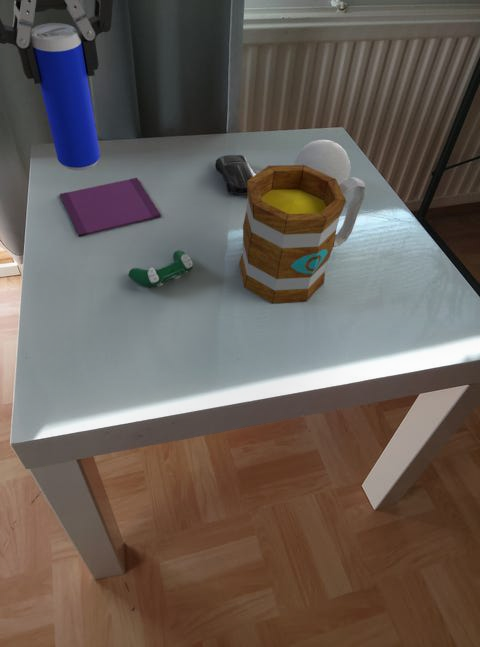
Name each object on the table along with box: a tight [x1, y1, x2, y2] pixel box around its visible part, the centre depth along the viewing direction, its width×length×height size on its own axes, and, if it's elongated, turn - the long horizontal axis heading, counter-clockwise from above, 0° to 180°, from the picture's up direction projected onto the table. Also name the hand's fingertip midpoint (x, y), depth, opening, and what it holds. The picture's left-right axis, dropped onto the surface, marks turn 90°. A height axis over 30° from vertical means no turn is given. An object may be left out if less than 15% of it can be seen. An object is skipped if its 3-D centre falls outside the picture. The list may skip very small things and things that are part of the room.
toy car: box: [214, 154, 257, 195], centre depth 93 cm, size 6×12×4 cm, turn 19°
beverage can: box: [30, 22, 101, 171], centre depth 58 cm, size 5×5×15 cm
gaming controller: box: [127, 249, 194, 289], centre depth 75 cm, size 9×4×6 cm
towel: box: [59, 177, 162, 237], centre depth 86 cm, size 14×12×1 cm
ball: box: [293, 139, 351, 185], centre depth 90 cm, size 10×10×10 cm
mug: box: [238, 164, 366, 304], centre depth 74 cm, size 20×14×15 cm
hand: (62, 76), depth 56 cm, fingers closed on beverage can, 5 cm apart
